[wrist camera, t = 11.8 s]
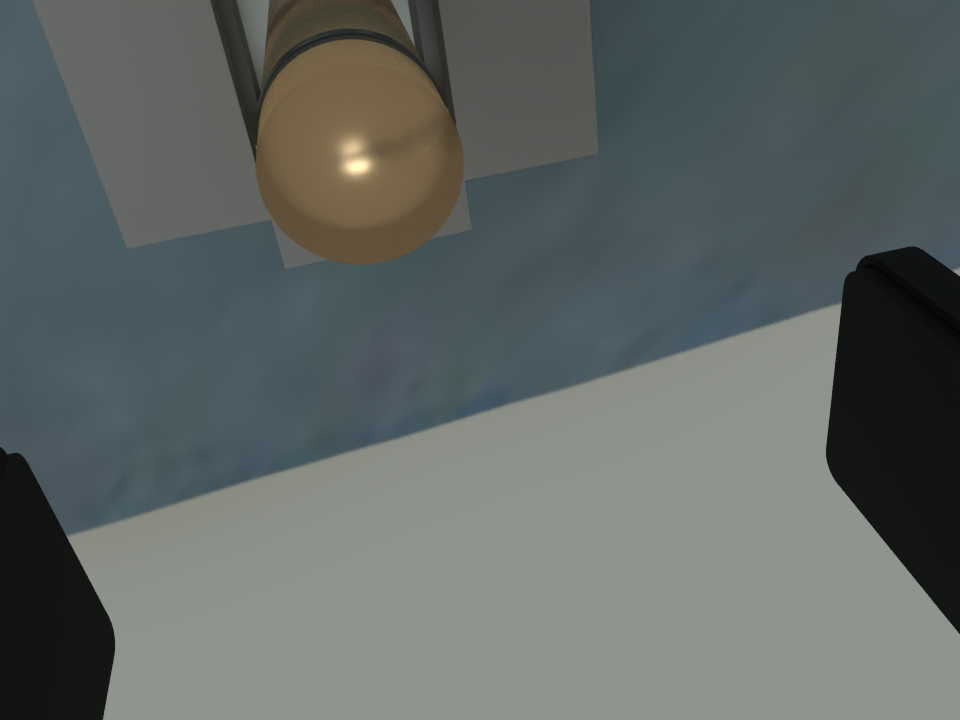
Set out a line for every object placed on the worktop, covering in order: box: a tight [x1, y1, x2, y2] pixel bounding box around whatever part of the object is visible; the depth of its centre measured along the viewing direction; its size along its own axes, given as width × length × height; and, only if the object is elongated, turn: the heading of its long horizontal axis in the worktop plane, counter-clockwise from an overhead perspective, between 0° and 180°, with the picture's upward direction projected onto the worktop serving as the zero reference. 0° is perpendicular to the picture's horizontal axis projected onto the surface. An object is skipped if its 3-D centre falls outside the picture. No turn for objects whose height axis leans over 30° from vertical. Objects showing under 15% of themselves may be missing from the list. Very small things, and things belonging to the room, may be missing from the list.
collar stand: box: [32, 0, 599, 269], centre depth 30 cm, size 18×14×8 cm
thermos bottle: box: [256, 0, 464, 264], centre depth 25 cm, size 4×4×18 cm
